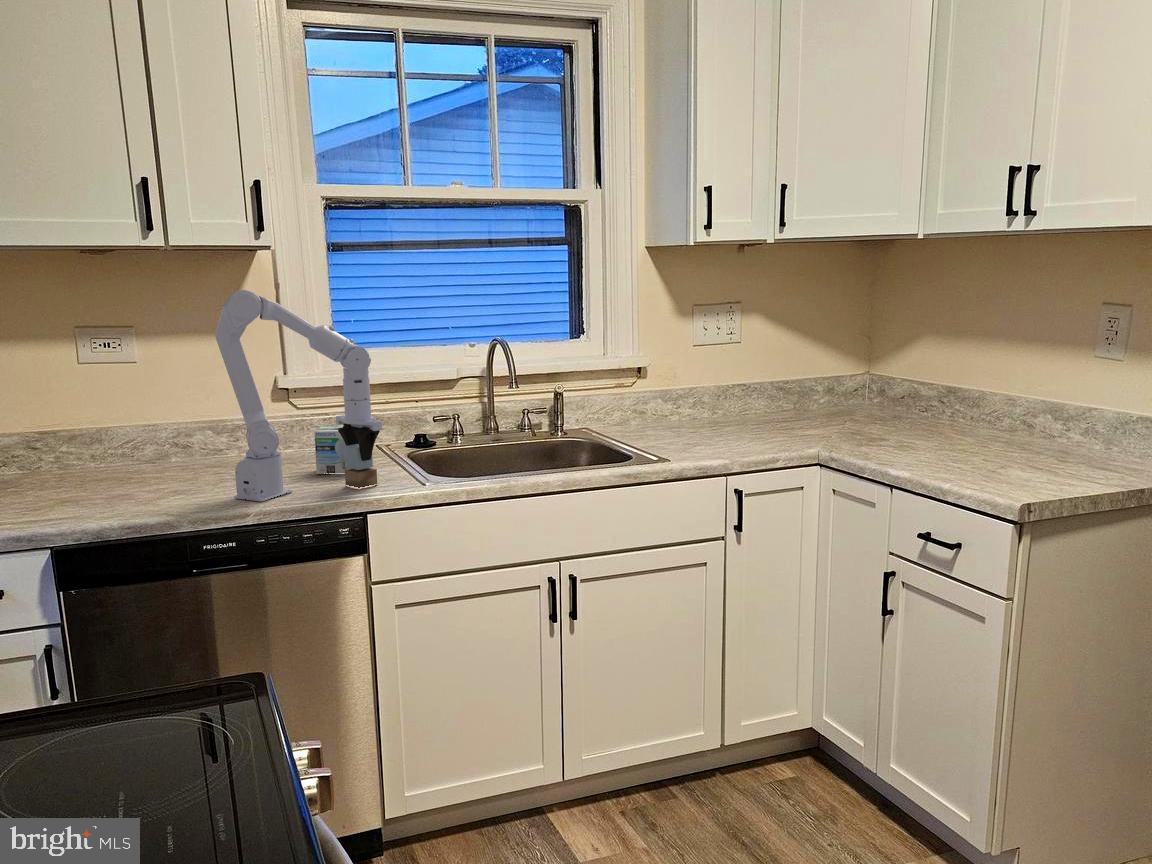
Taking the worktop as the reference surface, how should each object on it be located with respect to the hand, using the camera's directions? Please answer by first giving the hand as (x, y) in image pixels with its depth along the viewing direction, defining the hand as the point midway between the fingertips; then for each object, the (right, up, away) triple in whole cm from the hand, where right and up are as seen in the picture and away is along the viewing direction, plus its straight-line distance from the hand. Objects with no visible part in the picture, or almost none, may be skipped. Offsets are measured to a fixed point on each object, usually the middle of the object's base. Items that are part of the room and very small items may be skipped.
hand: (360, 458), depth 201 cm
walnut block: (0, -6, +1) cm, 6 cm away
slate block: (0, -2, 0) cm, 2 cm away
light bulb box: (-8, -4, +16) cm, 18 cm away
